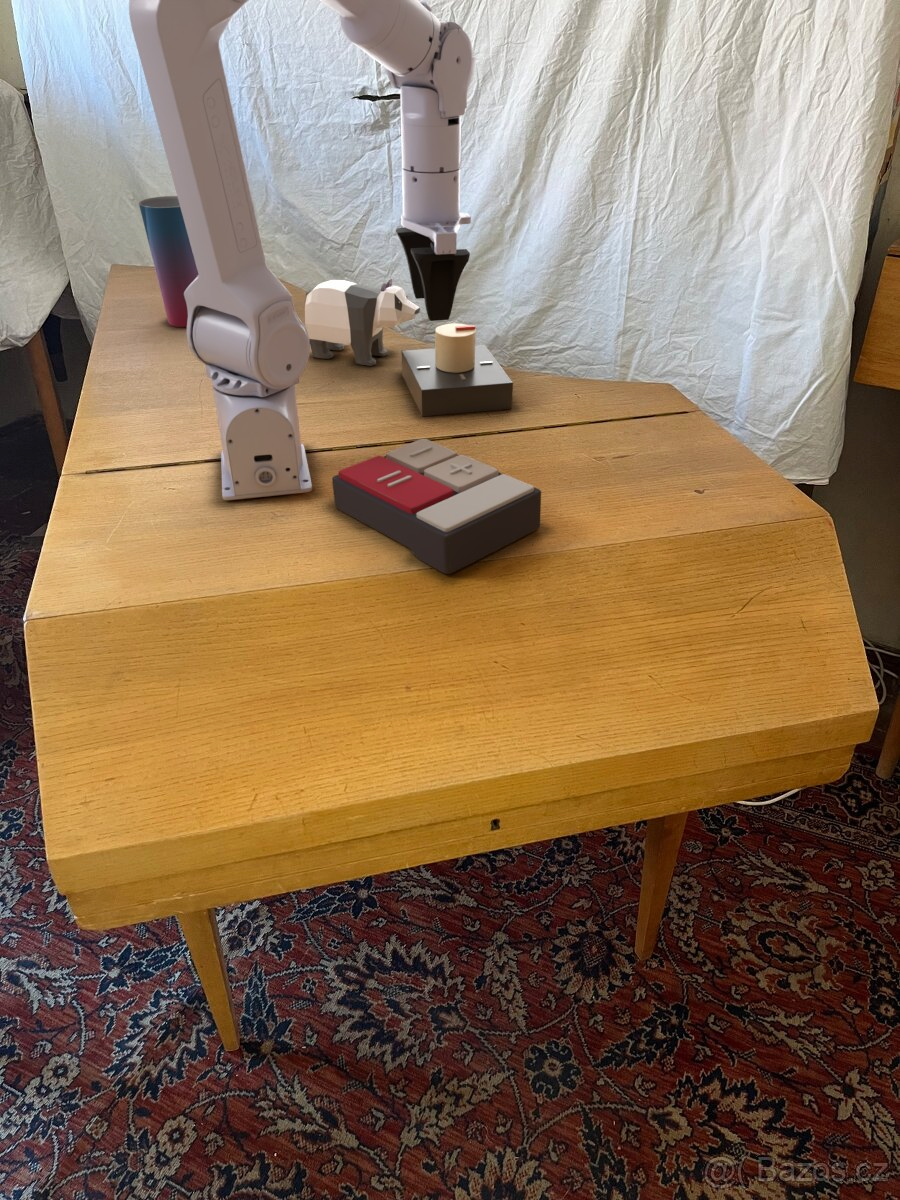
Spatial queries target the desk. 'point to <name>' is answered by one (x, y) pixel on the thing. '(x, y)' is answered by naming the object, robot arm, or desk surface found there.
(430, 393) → the panel
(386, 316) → the giant panda
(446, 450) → the calculator
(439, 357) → the dial
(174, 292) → the cup
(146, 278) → the desk surface
